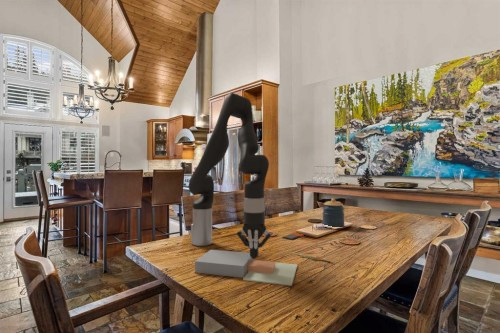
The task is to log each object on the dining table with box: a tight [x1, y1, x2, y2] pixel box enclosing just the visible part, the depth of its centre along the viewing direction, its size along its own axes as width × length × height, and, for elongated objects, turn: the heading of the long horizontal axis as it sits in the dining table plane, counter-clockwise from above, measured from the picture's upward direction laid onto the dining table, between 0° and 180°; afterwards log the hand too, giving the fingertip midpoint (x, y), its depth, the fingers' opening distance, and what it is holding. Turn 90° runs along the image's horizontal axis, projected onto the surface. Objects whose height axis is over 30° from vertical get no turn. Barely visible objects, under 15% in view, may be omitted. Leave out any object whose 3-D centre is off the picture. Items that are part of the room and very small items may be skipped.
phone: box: [281, 231, 305, 241], centre depth 149 cm, size 6×1×15 cm
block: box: [247, 259, 276, 274], centre depth 101 cm, size 9×6×2 cm, turn 75°
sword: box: [283, 250, 334, 264], centre depth 117 cm, size 25×4×1 cm, turn 47°
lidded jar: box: [321, 197, 345, 228], centre depth 170 cm, size 13×13×18 cm
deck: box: [194, 249, 255, 279], centre depth 104 cm, size 18×14×4 cm
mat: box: [242, 261, 298, 287], centre depth 99 cm, size 16×18×1 cm
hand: (254, 258), depth 101 cm, fingers closed
